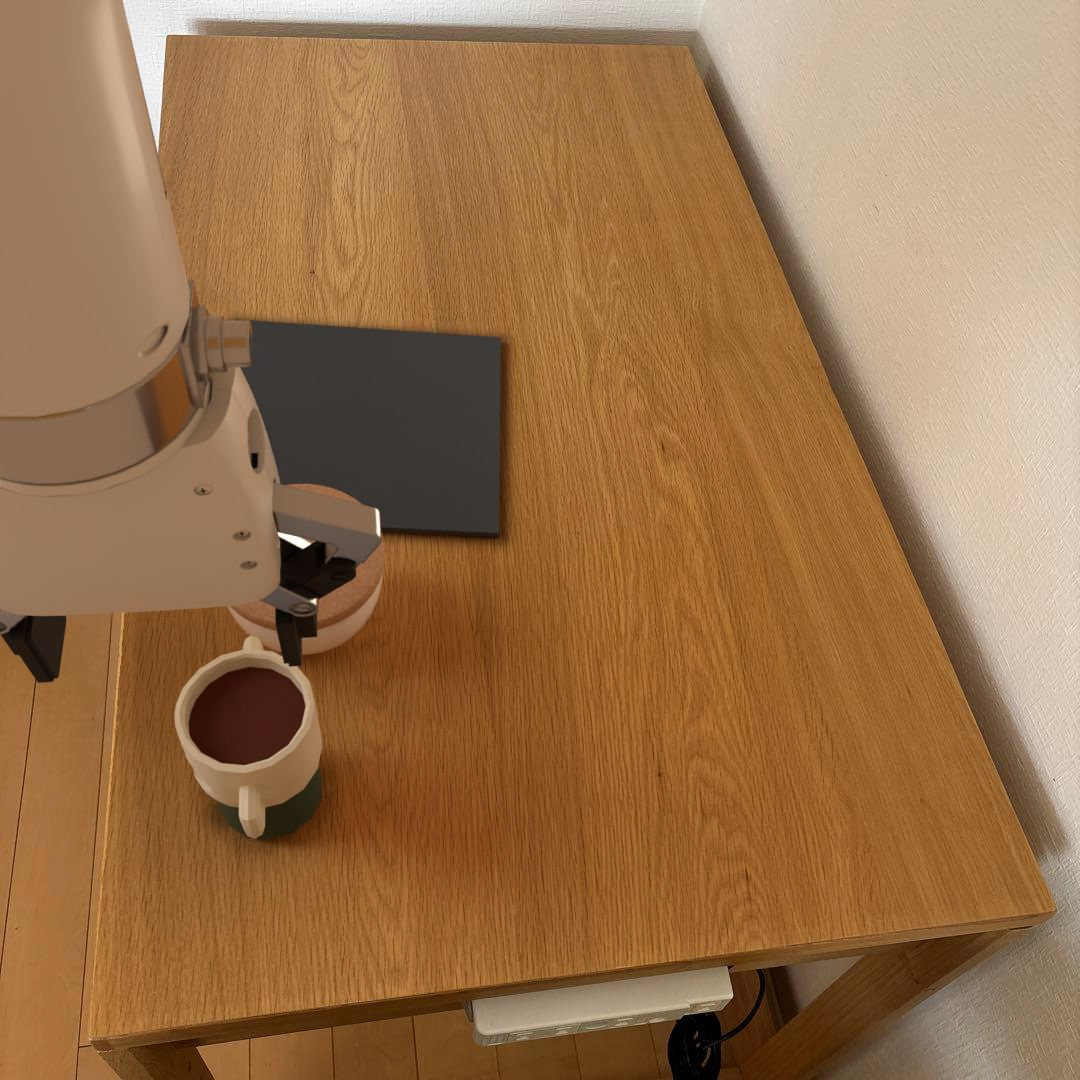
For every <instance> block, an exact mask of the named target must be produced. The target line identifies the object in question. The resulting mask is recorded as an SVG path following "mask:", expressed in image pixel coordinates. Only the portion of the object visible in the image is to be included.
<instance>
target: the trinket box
mask: <svg viewBox="0 0 1080 1080" xmlns="http://www.w3.org/2000/svg"><path fill="white" fill-rule="evenodd" d="M286 486H290V487H294V488H298V489H302V490H306V491H310V492H314V493H318V494H322V495H326V496H330V497H334V498H338V499H342V500H346V501H350V502H354V503H358V504H361V503H360V502H358V501H357V500H356V499H355V498H353V497H351V496H349V495H347V494H346V493H344V492H341V491H339V490H336V489H333V488H330V487H326V486H321V485H314V484H291V485H286ZM303 539H305V538H303ZM305 540H306V541H308V542H310V543H313V542H315V541H314V540H310V539H305ZM385 552H386V551H385V541H384V536H383V535H382V542H381V544H380V545H379V546H378V547H377V549H376V550H375V551H374V552H373V553H372V554H371V555H370V556H369V558H368V559H367V560H366V561H365V562H364V563H360V564H359V566H358V567H357V568H356V577H355V578H354V579H353V580H351V581H350V582H348V583H346V584H345V585H343V586H341V587H339V588H338V589H336V590H334V591H333V592H331V593H329V594H327V595H326V596H324V597H322V598H321V599H319V610H318V612H317V637H310V638H302V656H307V655H308V656H309V655H315V654H320V653H324V652H328V651H330V650H333V649H336V648H338V647H339V646H341V645H343V644H345V643H346V642H347V641H349V640H350V639H352V638H353V637H354V636H355V635H356V634H357V633H359V631H360V630H361V629H362V628H363V627H364V626H365V625H366V624H367V622H368V621H369V619H370V617H371V615H372V614H373V613H374V611H375V608H376V607H377V603H378V600H379V598H380V594H381V590H382V585H383V578H384V568H385V567H384V566H385V563H386V562H385V560H386V559H385V558H386V555H385ZM226 608H227V609H228V611H229V613H230V615H231V616H232V618H233V620H234V621H235V622H236V623H237V625H238V626H239V627H240V629H242V630H243V632H245V634H247V635H248V637H249V636H251V635H252V636H255V637H257V638H259V640H260V642H261V644H262V646H263V647H265V648H268V649H270V650H272V651H275V652H278V653H282V652H281V647H280V643H279V638H278V634H277V629H276V623H275V607H273V606H271V605H268V604H266V603H264V602H262V601H260V600H258V601H255V602H252V603H247V604H242V605H235V606H226Z"/></svg>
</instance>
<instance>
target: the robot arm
mask: <svg viewBox="0 0 1080 1080" xmlns="http://www.w3.org/2000/svg"><path fill="white" fill-rule="evenodd" d="M124 4H125V3H124V0H0V636H1V638H2V639H3V640H4V642H5V643H6V645H7V646H8V648H9V649H10V651H11V652H12V654H13V655H14V656H19V657H20V659H21V660H22V662H23V663H24V664H25V666H26V668H27V669H28V671H29V672H30V673H31V675H32V676H33V678H34V679H35V681H36V682H37V683H40V684H41V683H54V681H55V679H58V678H59V677H60V671H61V664H62V657H63V650H64V643H65V635H66V628H67V616H84V615H85V616H89V615H106V614H107V615H109V614H110V615H111V614H126V613H127V614H128V613H146V612H163V611H179V610H180V611H182V610H195V609H212V608H223V607H227V606H235V605H242V604H247V603H252V602H255V601H258V600H260V601H262V602H264V603H266V604H268V605H271V606H273V607H275V623H276V629H277V634H278V638H279V643H280V647H281V652H280V653H281V656H282V657H283V661H284V664H289V667H291V666H297V667H302V666H303V655H302V638H310V637H317V612H318V610H319V599H321V598H322V597H324V596H326V595H327V594H329V593H331V592H333V591H334V590H336V589H338V588H339V587H341V586H343V585H345V584H346V583H348V582H350V581H351V580H353V579H354V578H355V577H356V568H357V567H358V566H359V564H360V563H364V562H365V561H366V560H367V559H368V558H369V556H370V555H371V554H372V553H373V552H374V551H375V550H376V549H377V547H378V546H379V545H380V544H381V542H382V536H383V532H381V514H380V511H379V510H378V509H376V508H374V507H370V506H366V505H362V504H358V503H354V502H350V501H346V500H342V499H338V498H334V497H330V496H326V495H322V494H318V493H314V492H310V491H306V490H302V489H298V488H294V487H290V486H286V485H282V484H280V479H279V475H278V470H277V466H276V462H275V459H274V455H273V452H272V449H271V445H270V442H269V438H268V435H267V432H266V429H265V426H264V423H263V420H262V417H261V414H260V412H259V409H258V406H257V404H256V401H255V398H254V396H253V394H252V391H251V389H250V387H249V384H248V382H247V380H246V378H245V376H244V374H243V372H242V370H241V369H240V367H253V365H254V345H253V333H252V327H251V322H250V321H249V320H250V319H240V320H241V321H235V320H225V318H224V316H223V315H211V314H210V311H209V310H208V308H207V307H206V305H200V301H199V298H198V293H197V287H196V284H195V280H194V279H188V277H187V273H186V272H187V271H186V268H185V264H184V260H183V256H182V251H181V247H180V243H179V238H178V235H177V230H176V225H175V221H174V216H173V212H172V208H171V204H170V198H169V194H168V190H167V186H166V183H165V178H164V175H163V174H164V173H163V170H162V164H161V161H160V156H159V152H158V148H157V143H156V139H155V134H154V131H153V126H152V121H151V118H150V113H149V109H148V104H147V99H146V96H145V92H144V86H143V82H142V78H141V74H140V70H139V65H138V62H137V58H136V57H137V56H136V53H135V48H134V44H133V40H132V35H131V31H130V26H129V21H128V16H127V13H126V8H125V5H124ZM303 538H305V539H310V540H314V541H315V542H313V543H310V542H308V541H306V540H305V539H303Z"/></svg>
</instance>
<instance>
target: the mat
mask: <svg viewBox="0 0 1080 1080" xmlns="http://www.w3.org/2000/svg"><path fill="white" fill-rule="evenodd" d="M241 320H242V319H238V318H237V319H235V320H234V321H241ZM248 320H249V321H250V322H251V327H252V333H253V345H254V365H253V367H240V369H241V370H242V372H243V374H244V376H245V378H246V380H247V382H248V384H249V387H250V389H251V391H252V394H253V396H254V398H255V401H256V404H257V406H258V409H259V412H260V414H261V417H262V420H263V423H264V426H265V429H266V432H267V435H268V438H269V442H270V445H271V449H272V452H273V455H274V459H275V462H276V466H277V470H278V475H279V479H280V484H282V485H291V484H314V485H321V486H326V487H330V488H333V489H336V490H339V491H341V492H344V493H346V494H347V495H349V496H351V497H353V498H355V499H356V500H357V501H358V502H360V503H361V504H362V505H366V506H370V507H374V508H376V509H378V510H379V511H380V514H381V532H382V533H383V532H384V533H399V534H401V533H402V534H403V533H404V534H423V535H445V536H462V537H464V536H465V537H483V538H499V536H500V488H501V487H500V486H501V485H500V483H501V482H500V481H501V480H500V476H501V474H500V473H501V470H500V469H501V466H500V465H501V376H502V375H501V372H502V371H501V367H502V365H501V362H502V359H501V358H502V356H501V355H502V338H501V336H487V335H474V334H473V335H471V334H457V333H442V332H429V331H427V332H426V331H413V330H401V329H400V330H398V329H385V328H372V327H371V328H367V327H355V326H341V325H340V326H339V325H327V324H312V323H311V324H310V323H297V322H296V323H295V322H282V321H268V320H255V319H254V320H253V319H248Z"/></svg>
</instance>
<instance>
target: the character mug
mask: <svg viewBox="0 0 1080 1080" xmlns="http://www.w3.org/2000/svg"><path fill="white" fill-rule="evenodd" d="M314 697H315V696H314V693H313V689H312V685H311V681H310V680H309V679H308V677H307V676H306V675H305V674H304V673H303V671H302V670H301V669H300V668H299V666H291V667H289V664H284V661H283V657H282V655H280V654H278V653H277V652H276V651H275V652H274V650H265V649H264V646H263V645H262V644H261V642H260V640H259V638H257V637H255V636H252V635H251V636H249V635H248V637H246V638H245V639H244V641H243V643H242V649H241V650H236V651H231V652H229V653H224V654H221V655H219V656H218V657H216V658H214V659H212V660H211V661H209V662H208V663H206V664H205V665H203V666H201V667H199V668H198V669H197V670H196V671H195V673H194V674H193V675H192V677H190V679H189V680H188V681H187V682H186V683H185V684H184V686H183V687H182V689H181V691H180V693H179V696H178V699H177V701H176V703H175V709H174V715H173V716H174V726H175V730H176V733H177V737H178V740H179V741H180V744H181V745H180V746H181V747H182V749H183V751H184V756H185V758H186V760H187V762H188V763H189V765H190V766H191V767H192V770H193V774H194V777H195V779H196V781H197V782H198V784H199V785H200V787H201V788H202V790H203V791H204V792H205V793H206V794H207V795H208V796H210V798H212V799H214V800H216V801H217V802H218V807H219V810H220V812H221V814H222V816H223V817H224V819H225V822H226V823H227V825H228V826H229V827H230V828H231V829H233V830H234V831H236V832H237V833H239V834H241V836H243V837H245V838H246V839H252V840H266V841H272V840H275V839H278V838H281V837H284V836H287V835H290V834H294V833H296V831H298V830H299V829H300V828H301V827H303V825H305V824H306V823H307V822H308V821H309V820H311V819H312V818H313V817H314V815H315V813H316V811H317V809H318V806H319V805H320V803H321V801H322V798H323V775H322V772H321V770H320V768H319V763H320V758H321V754H322V749H323V738H322V734H321V733H322V732H321V728H320V723H319V716H318V712H317V711H318V710H317V706H316V701H315V698H314Z"/></svg>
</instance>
